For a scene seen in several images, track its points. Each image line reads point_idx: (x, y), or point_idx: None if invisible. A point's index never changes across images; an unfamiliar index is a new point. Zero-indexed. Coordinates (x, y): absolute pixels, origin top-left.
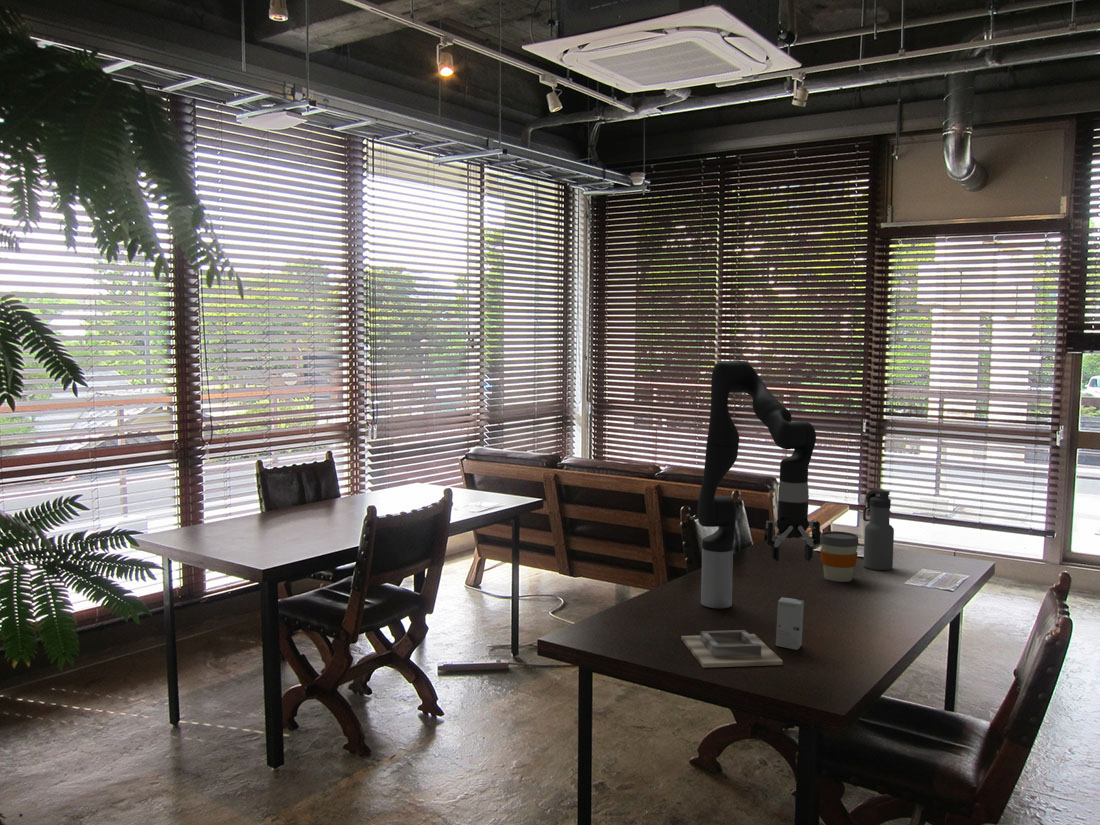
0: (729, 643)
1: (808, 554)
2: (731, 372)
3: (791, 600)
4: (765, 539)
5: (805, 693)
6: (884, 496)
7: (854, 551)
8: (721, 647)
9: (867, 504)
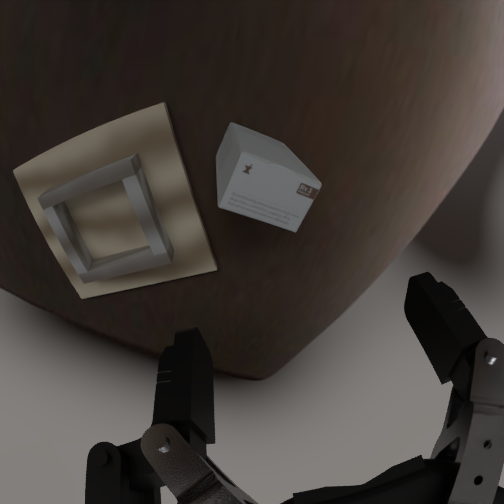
0: (104, 191)
1: (423, 342)
2: None
3: (272, 197)
4: (101, 475)
5: (237, 349)
6: None
7: None
8: (95, 280)
9: None
